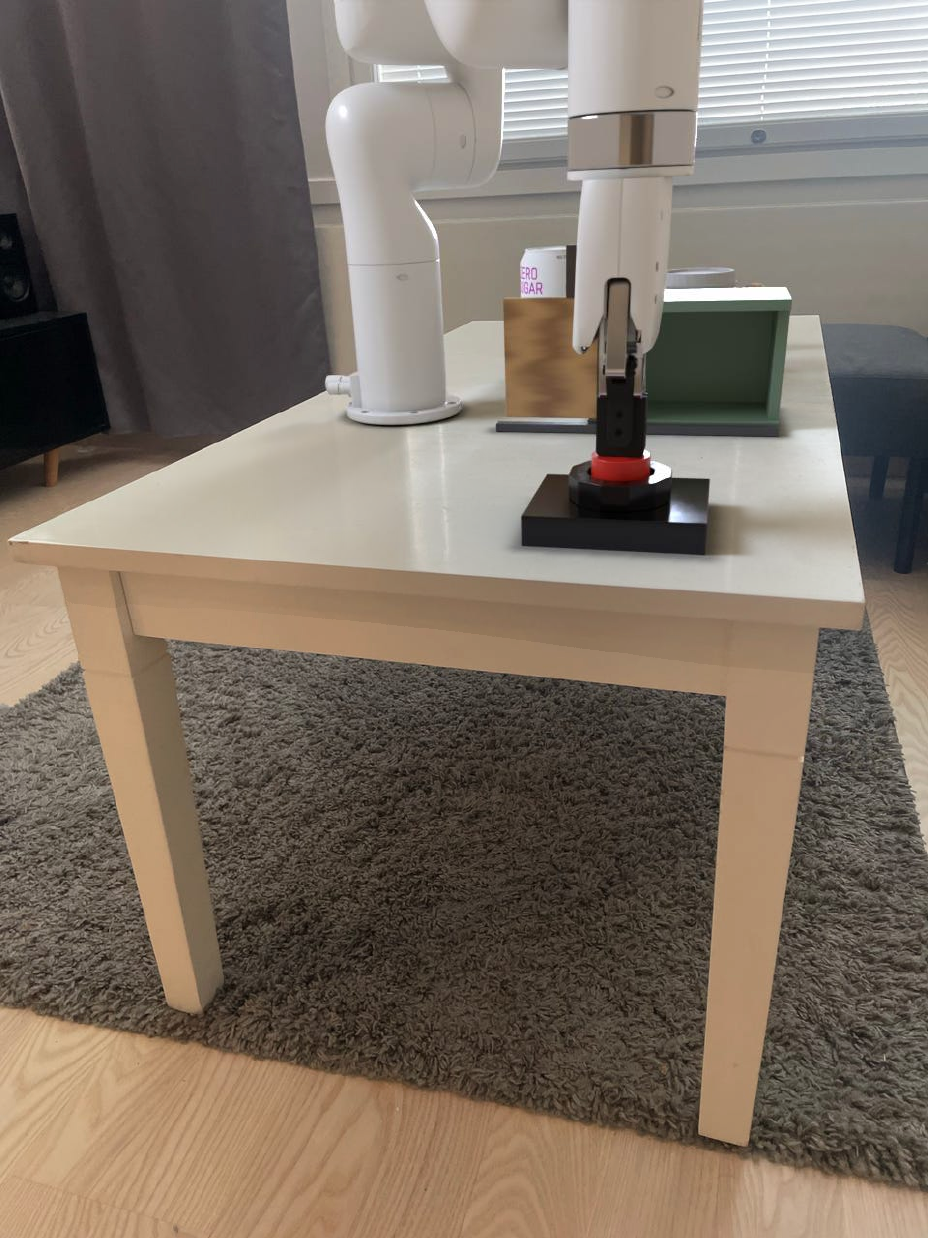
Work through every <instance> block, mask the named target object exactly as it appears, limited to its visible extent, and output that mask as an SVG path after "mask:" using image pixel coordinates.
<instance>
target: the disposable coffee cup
mask: <svg viewBox="0 0 928 1238" xmlns="http://www.w3.org/2000/svg"><path fill="white" fill-rule="evenodd" d="M738 281H739V280H737V279H736V271H735V269H734V268H729V267H685V268H673V269H667V279H666V288H665V290H678V289H728V288H736V285H737V284H738Z"/></svg>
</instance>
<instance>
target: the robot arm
mask: <svg viewBox="0 0 928 1238" xmlns="http://www.w3.org/2000/svg"><path fill="white" fill-rule="evenodd" d="M333 5H334V15H335V24H336V31H337V36H338V39H339V42H340V45H341V47H342V49H343V51H344V52H345V53H346V54H347V55H348V56H349V57H350V58H352V59H353V60H355V61H357V62H361V63H364V64H370V65H380V66H430V67H431V66H432V67H433V66H435V67H437V66H440V67H443V68H444V71H445V75H446V82H418V81H373V82H371V81H370V82H363V83H359V84H358V83H357V84H355V85H351V86H349V87H347V88H345V89H343V90H341V91H340V92H339V93H337V94H336V96H334V97H333V98H332V100H331V102H330V104H329V105H328V108H327V111H326V116H325V122H324V123H325V125H324V126H325V127H324V129H325V140H326V146H327V150H328V151H327V152H328V156H329V160H330V163H331V168H332V171H333V177H334V180H335V184H336V185H335V186H336V189H337V194H338V198H339V199H338V200H339V203H340V204H339V205H340V210H341V216H342V217H341V218H342V224H343V231H344V240H345V241H344V242H345V251H346V252H345V253H346V263H347V271H348V281H349V283H348V284H349V292H350V303H351V315H352V325H353V336H354V346H355V347H354V348H355V358H356V369H357V370H356V371H355V372H352V373H351V374H349V375H341V374H340V375H337V374H335V375H332V374H331V375H330V374H329V375H326V377H325V382H324V387H325V390H326V393H328V395H329V396H342V395H347V396H348V397H349V398H351V401H350V402H349V403H348V404H347V405H346V414H347V415H346V416H347V417H348V418H349V419H350V420H352V421H355V422H357V423H362V424H369V425H384V426H398V425H399V426H400V425H402V426H403V425H415V424H423V423H429V422H435V421H439V420H445V419H448V418H450V417H451V418H452V417H453V416H455V415H457V414H458V413H460V412H461V410H462V399H461V398H460V397H459V396H458V395H455V394H452V393H448V392H447V375H446V357H445V356H446V354H445V353H446V352H445V336H444V316H443V298H442V297H443V295H442V277H441V260H440V245H439V238H438V235H437V231H436V230H435V227H434V225H433V223H432V222H431V220H430V219H429V217H428V216H427V214H426V213H425V211H424V210H423V209H422V208H421V206H420V204H419V203H418V202H417V200H416V199H415V197H414V195H413V193H419V192H423V191H442V190H443V191H444V190H460V189H461V190H462V189H463V190H464V189H473V188H477V187H480V186H483V185H485V184H487V183H488V182H489V181H490V180H491V179H492V178H493V176H494V175H495V173H496V172H497V169H498V167H499V163H500V161H501V160H500V159H501V155H502V147H503V134H504V133H503V132H504V107H505V105H504V102H505V101H504V98H505V70H556V71H567V119H568V120H567V130H566V131H567V141H566V142H567V143H566V144H567V146H566V147H567V149H566V150H567V151H566V152H567V153H566V155H567V157H566V159H567V160H566V171H567V172H566V181H567V182H579V181H582V183H581V184H582V185H581V191H580V198H579V199H580V200H579V211H578V221H577V236H576V244H577V253H576V278H575V303H574V323H573V348H574V350H575V351H576V352H577V353H578V354H585V353H586V352H587V350H588V349H589V348H590V347H591V345H592V344H593V343H594V342H595V340H596V339H597V338H598V337H599V395H598V396H597V418H596V433H595V451H596V453H597V454H598V455H599V456H608V457H641V456H642V455H643V453H644V450H646V446H647V445H646V444H647V434H646V425H647V403H648V392H643V391H645V385H646V366H647V352H648V351H649V350H650V349H652V347H653V346H654V344H655V342H656V339H657V337H658V334H659V330H660V324H661V318H662V311H663V304H664V297H665V288H666V279H667V270H668V269H669V268H668V266H669V255H670V254H669V253H670V241H671V240H670V239H671V238H670V237H671V222H672V207H673V206H672V205H673V186H674V177H685V176H694V175H695V161H696V159H695V158H696V144H697V143H696V142H697V140H696V139H697V127H698V108H699V93H700V91H699V90H700V77H701V76H700V75H701V61H702V60H701V59H702V46H703V45H702V44H703V43H702V42H703V29H704V27H703V26H704V10H705V0H333Z"/></svg>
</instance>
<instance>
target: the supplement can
mask: <svg viewBox="0 0 928 1238" xmlns="http://www.w3.org/2000/svg"><path fill="white" fill-rule="evenodd" d="M519 263H520V264H519V265H520V267H519V268H520V271H519V272H520V297H566V245H556V246H539V247H529V248H525V249H524V254H523V256H522V258H521V260H520V262H519Z"/></svg>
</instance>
